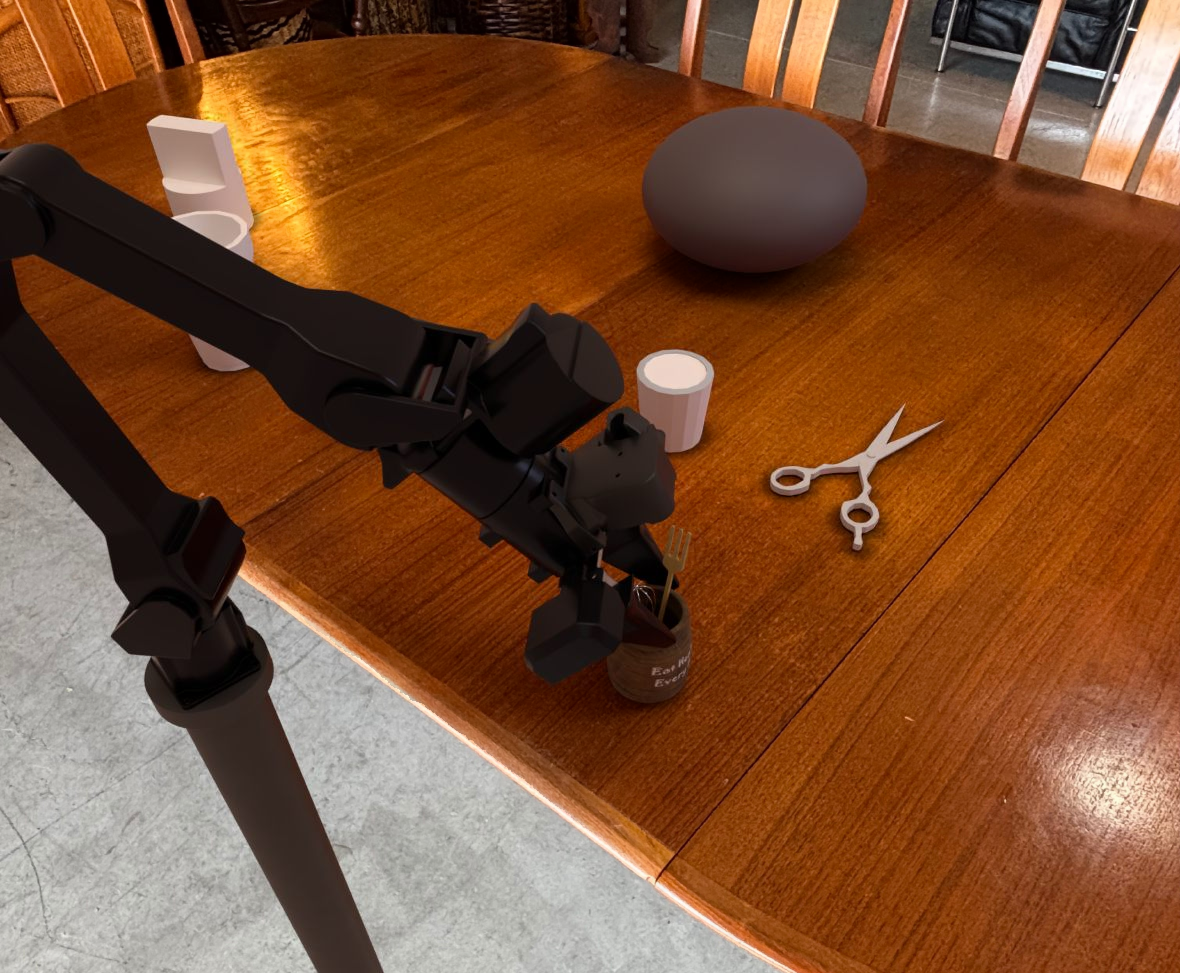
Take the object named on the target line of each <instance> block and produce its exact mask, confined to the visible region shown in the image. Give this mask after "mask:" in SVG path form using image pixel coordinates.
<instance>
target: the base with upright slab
mask: <svg viewBox="0 0 1180 973" xmlns="http://www.w3.org/2000/svg"><path fill="white" fill-rule="evenodd" d="M146 128H147V131H148V135H149V138H150V141H151V144H152V146H153V149H154V153H155V155H156V159H157V162H158V165H159V168H160V171H161V174H162V176H163V178H162V180H161V182H162V187H163V189H164V192H165V195H166V198H167V201H168V205H169V207H170V210H171V214H172V217H174V216H178V215H183V214H187V213H192V212H196V211H222V212H226V213H230V214H235V215H237V216H239V217H240V218H241V219H242V220H244V221H245V222H246V223H247V225H248V229H249V230H250V229H251V228H252V227H253V225H254V224H255V223H254V222H255V219H254V215H253V212H252V207H251V204H250V200H249V198H248V197H249V196H248V193H247V189H246V185H245V182H244V181H245V180H244V178H243V175H242V171H241V168H240V167H239V166H238V162H237V159H236V156H235V152H234V148H233V144H232V140H231V137H230V134H229V129H228V127H227V123H226V122H222V121H221V122H219V121H212V120H205V119H197V118H189V117H182V116H181V117H180V116H173V115H166V114H160V115H158V116H155V117H153V119H150V120H149V121H148V122H147V123H146Z"/></svg>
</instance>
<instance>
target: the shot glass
mask: <svg viewBox="0 0 1180 973" xmlns="http://www.w3.org/2000/svg"><path fill="white" fill-rule="evenodd" d="M714 376H715V371H714V367H713V365H712V363H710V361H708V360H707V359H706V358H705V357H704V356H703V355H700V354H697V353H695V352H693V351H689V350H683V349H676V348H675V349H663V350H659V351H655V352H653V353H649V354H648V355H647V356H645V357H644V358H643V359H641V360H640V361H639V363H638V365H637V367H636V381H637V396H638V407H639V408H638V410H639V414H640V415H641V416H643V417H644V418H646V419H647V420H648V421H649V422H650V424H654V426H655V428H656V429H659V430H662V431H664V432H665V434H666V438H665V451H666V453H682V452H685V451H687V450H690V449H693V448H694V447H695V446H696V445H698V444H699V442H700V441H701V439H702V438H701V437H702V434H703V430H704V426H705V425H704V424H705V420H706V415H707V411H708V406H709V401H710V396H711V392H712V387H713V382H714Z"/></svg>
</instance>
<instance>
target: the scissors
mask: <svg viewBox="0 0 1180 973" xmlns="http://www.w3.org/2000/svg"><path fill="white" fill-rule="evenodd" d="M906 404H907V402H905V403H904V404H903V405H902V407H900V409H899V410H898V411H897V412H896V413H895V414H894V415H893V417H892V418H891V419H890V420H889V421H888V423H887V424H886V425H885V426H884V427H883V428H882V429H881V431H880V432H879V433H878V434H877V436H876V437H875V438H874V440H873V441H872V442H871V444H870V445H869V446H868V448H866V450H865V451H863V452H859V453H858V454H856V455H854V456H852V457H850V458H848V459H846V460H843V461H841V462H839V463H834V464H831V463H823V464H821V465H819V466H817V467H816V468H809V467H804V466H803V467H802V466H798V465H790V466H789V465H788V466H783V467H779V468H777V469H776V470H775V471H773V472H772V473H771V475H770V481H769V486H770V489H771V491H773V492H774V493H776V494H779V495H782V496H794V495H800V494H802V493H804V492H807V491H809V488H810V484H811V480H814V479H815V478H817V477H819V476H820V475H821V476H822V475H826V474H827V475H828V474H835V473H856V472H858V477H859V481H860V486H861V489H862V490H861V491H862V492H861V493H860V495H858V496H857V498H854V499H851V500H847V501H844V502H843V503H842V505H841V508H840V511H839V512H840V513H839V518H840V522H841V524H842V526H844V528H845V529H847V530H849V531H850V532H852V533H853V538H854V540H853V544H852V549H853V550H855V551H860V550H861V549H862V548H863V544H864V542H863V539H862V534H866V533H868V532H869V531H872V530H873V529H875V527H876V525H877V524H878V522H879V519H880V513H879V509H878V507H877V506H876V505H875V503H873V502H872V501H871V500H870V497H869V495H870V494H871V491H872V486H871V485H870V483H869V481H868V478H869V476H870V475H871V473H872V472H873V470H874V469H875V466H876V465H877V463H878V461H881V460H882V459H884V458H886V457H887V456H889V455H891V454H893V453H895V452H897V451H898V450H900V449H902V448H904V447H906V446H907V445H909V444H911V443H912V442H914V441H915V440H917V439H918V438H920V437H921V436H923V435H925V434H926V433H928V432H930V431H932V430H933V429H935V428H936V427H938V426H939V425H940V424H941V423H943V422H944V421H945V419H944V420H941V421H939V422H936V423H934V424H932V425H928V426H927V427H924V428H922V429H919V430H917V431H914V432H912V433H910V434H907V435H906V436H904V437H901V438H898V439H896V440H894V441H890V442H889V443H888V441H889V440H890V438H891V436H892V433H893V432H894V429H895V427H896V425H897V424H898V421H899V418H900V416H901V414H902V412H903V411H904V410H903V409H904V408H905V406H906ZM788 475H789V476H790V475H793V476H797V477H799V478H801V479H802V481H800V482H798V483H796V484H794V485H793V484H792V485H788V486H787V485H783V484H782V483H779V482H778V481H777V479H779V478H780V477H782V476H788ZM856 509H857V510H858V509H861V510H864V511H866V512H867V513H869V515H870V517H871V518H870V519H868V520H867V521H866V522H855V521H854V520H852V519H850V518H849V516H848V514H849V513H850V512H851V511H853V510H856Z"/></svg>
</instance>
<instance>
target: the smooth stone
mask: <svg viewBox="0 0 1180 973" xmlns="http://www.w3.org/2000/svg"><path fill="white" fill-rule="evenodd" d="M867 195H868V179H867V176H866V173H865V169H864V167H863V164H862V161H861V158H860V157H859V156H858V154H857V152H856V151H855V150H854V148H853V147H852V146H851V145H850V143H849V142H848V141H847V139H846V138H845V137H843V136H842V135H841V134H839V133H838V132H837V131H835V130H834V129H833V128H832V127H830V126H829V125H827V124H826V123H823V122H822V121H820V120H818V119H815V118H813V117H810V116H808V115H806V114H803V113H800V112H797V111H794V110H790V109H786V108H780V107H773V106H762V105H761V106H758V105H756V106H750V105H748V106H736V107H730V108H726V109H725V108H724V109H721V110H718V111H714V112H711V113H707V114H703V115H701V116H699V117H696V118H694V119H692V120H690V121H688V122H687V123H685V124H684V125H682V126H680V127H679V128H677V129H675V130H674V131H673V132H671V133H670V134H669V135H668V136H667V137H666V138H665V139H664V140H663V141H662V143H660V144H659V145H658V146H657V148H656V149H654V151H653V153H652V155H651V157H650V158H649V159H648V162H647V165H646V166H645V168H644V171H643V176H642V181H641V197H642V198H641V199H642V205H643V206H642V207H643V209H644V210H645V213H646V215H647V218H648V220H649V221H650V224H651V225H652V228H653V229H654V230H655V232H657V233H658V235H659V236H660V237H661V238H662V239H663V240H664V241H665V242H666V243H667V244H668V245H669V246H670V247H672V248H673V249H675V250H676V251H677V252H679V253H680V254H682V255H684V256H686V257H688V258H689V259H692V260H694V261H696V262H698V263H700V264H703V265H705V266H709V267H711V268H714V269H719V270H724V271H729V272H738V273H745V274H747V273H752V274H753V273H754V274H755V273H756V274H757V273H758V274H760V273H763V274H764V273H771V272H772V273H773V272H779V271H780V272H781V271H784V270H788V269H792V268H793V269H794V268H795V267H799V266H801V265H804V264H807V263H810V262H813V261H815V260H817V259H820V258H821V257H823V256H824V255H826V254H827V253H829V252H830V251H833V249H835V248H836V247H837V246H839V245H840V244H841V243H843V241H844V240H846V238H848V236H849V235H850V234H851V233H852V232H853V230H854V229H855V228H856V226H857V224H858V223H859V221H860V219H861V218H862V215H863V213H864V210H865V208H866V204H867V197H868V196H867Z"/></svg>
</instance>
